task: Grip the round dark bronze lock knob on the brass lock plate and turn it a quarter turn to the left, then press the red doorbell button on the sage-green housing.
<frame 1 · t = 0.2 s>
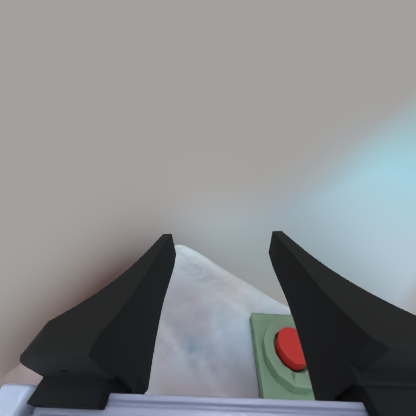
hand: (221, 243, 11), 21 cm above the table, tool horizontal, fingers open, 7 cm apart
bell: (285, 362, 21), on the table
bell button: (292, 347, 19), point 4 cm above the table, slide at 0.1 cm
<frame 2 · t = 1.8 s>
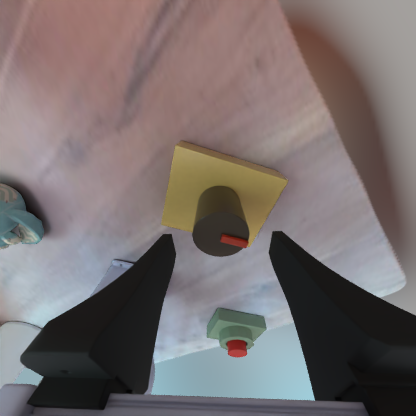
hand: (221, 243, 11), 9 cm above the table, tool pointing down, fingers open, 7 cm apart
thumb turn: (219, 219, 14), point 6 cm above the table, hinge at 0.0°
lock plate: (218, 192, 19), on the table
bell: (234, 321, 34), on the table
stuffed animal: (12, 210, 22), on the table
bell button: (236, 347, 30), point 4 cm above the table, slide at 0.1 cm
mug: (25, 331, 41), on the table
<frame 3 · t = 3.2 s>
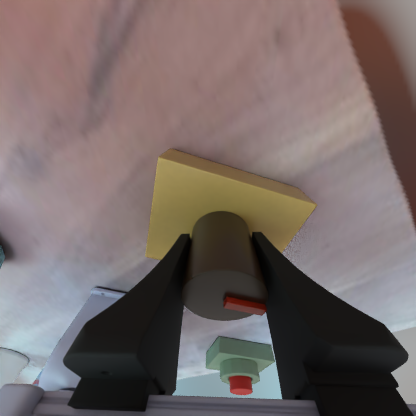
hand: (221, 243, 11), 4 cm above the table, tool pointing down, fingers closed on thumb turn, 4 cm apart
thumb turn: (221, 261, 10), point 6 cm above the table, hinge at 0.0°, touching gripper
lock plate: (219, 213, 15), on the table
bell: (237, 349, 30), on the table
bell button: (240, 384, 26), point 4 cm above the table, slide at 0.1 cm
mug: (4, 355, 36), on the table
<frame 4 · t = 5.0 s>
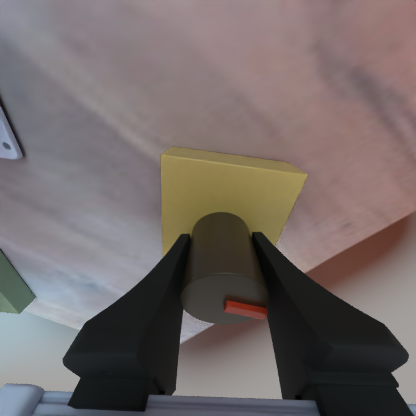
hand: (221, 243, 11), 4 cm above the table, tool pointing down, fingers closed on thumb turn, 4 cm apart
thumb turn: (221, 264, 10), point 6 cm above the table, hinge at 80.6°, touching gripper
lock plate: (219, 214, 15), on the table
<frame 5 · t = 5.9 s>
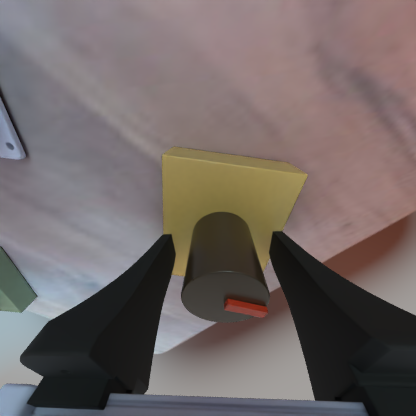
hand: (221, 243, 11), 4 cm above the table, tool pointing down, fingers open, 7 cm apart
thumb turn: (222, 263, 10), point 6 cm above the table, hinge at 80.3°
lock plate: (219, 214, 15), on the table
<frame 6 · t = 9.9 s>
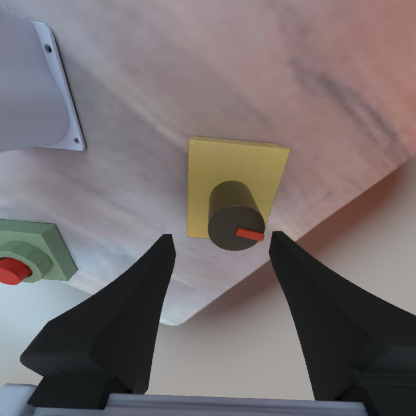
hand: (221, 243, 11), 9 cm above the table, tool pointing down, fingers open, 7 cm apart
thumb turn: (232, 214, 14), point 6 cm above the table, hinge at 80.3°
lock plate: (228, 188, 19), on the table
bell: (42, 247, 25), on the table
bell button: (11, 270, 21), point 4 cm above the table, slide at 0.1 cm
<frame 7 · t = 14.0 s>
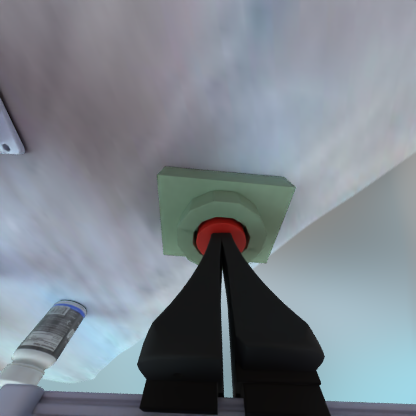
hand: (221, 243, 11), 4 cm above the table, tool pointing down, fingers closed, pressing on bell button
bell: (219, 212, 15), on the table
bell button: (220, 235, 12), point 3 cm above the table, slide at -1.0 cm, touching gripper
pill bottle 2: (73, 306, 25), on the table
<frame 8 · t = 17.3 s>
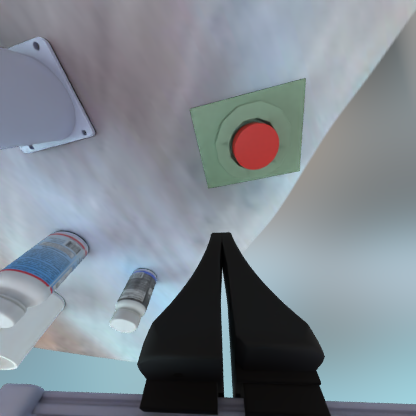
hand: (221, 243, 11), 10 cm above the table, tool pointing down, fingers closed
pill bottle: (72, 243, 27), on the table
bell: (245, 139, 17), on the table
bell button: (254, 146, 14), point 4 cm above the table, slide at 0.1 cm
mug: (43, 299, 36), on the table
pill bottle 2: (145, 275, 30), on the table
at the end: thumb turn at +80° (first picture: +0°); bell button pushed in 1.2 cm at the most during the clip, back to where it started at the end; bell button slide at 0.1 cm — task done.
